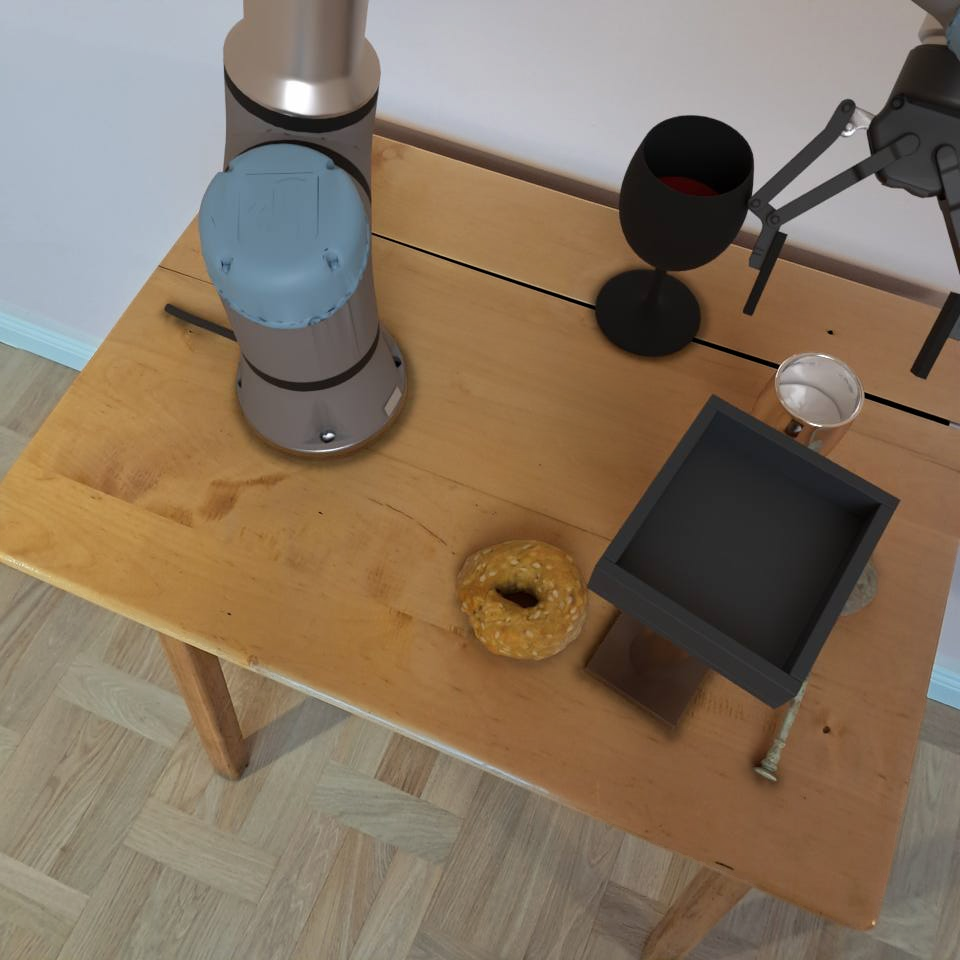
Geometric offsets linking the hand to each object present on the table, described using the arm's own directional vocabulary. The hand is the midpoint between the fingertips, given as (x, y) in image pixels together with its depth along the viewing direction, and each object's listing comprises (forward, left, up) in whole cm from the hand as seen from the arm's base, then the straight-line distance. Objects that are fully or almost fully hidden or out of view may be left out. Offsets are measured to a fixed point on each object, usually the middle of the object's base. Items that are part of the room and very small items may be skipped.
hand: (830, 344), depth 68 cm
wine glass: (-16, +4, -13) cm, 21 cm away
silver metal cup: (+1, -6, -13) cm, 14 cm away
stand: (+1, -25, -13) cm, 29 cm away
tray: (+1, -25, +10) cm, 27 cm away
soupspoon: (+11, -18, -13) cm, 25 cm away
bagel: (-10, -28, -13) cm, 32 cm away
